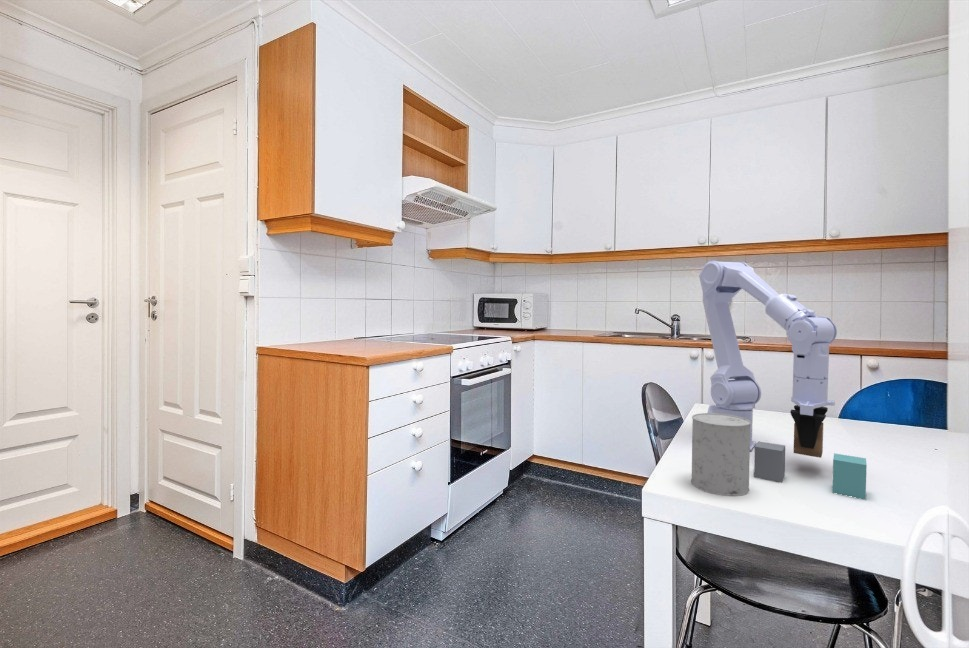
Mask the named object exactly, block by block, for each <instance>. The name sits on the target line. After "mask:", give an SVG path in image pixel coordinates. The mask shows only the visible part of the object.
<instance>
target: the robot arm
mask: <svg viewBox="0 0 969 648" xmlns="http://www.w3.org/2000/svg"><path fill="white" fill-rule="evenodd" d="M698 278H699V282H700V287H701V290H702V304H703V309H704V312H705V317H706V322H707V326H708V330H709V335H710V340H711V343H712V347H713V354H714V357H715V361H716V366H717V370H715V372H713V373H712V374H711V376H710V377H709V378H710V382H711V383H710V384H711V387H710V396H711V400H712V401H713V402H714V404H710V405H709V406H708V409H707V413H718V414H727V415H733V416H738V417H742V418H745V419H748V420H749V421H750V422H751V424H750V451H752V450H753V449H754V448H755V446H756V444H757V441H755V440H753V418H754V417H753V416H754V414H753V412H754V410H753V409H756V404H758V402H760V401H761V398H762V390H761V387H760V385H759V383H758V382H757V381H756V379H755V376H754V373H753V372H752V371H751V370H750V369H749V368H747V367H746V366H745V365H744V363H743V359H742V355H741V351H740V346H739V342H738V337H737V334H736V330H735V325H734V322H733V317H732V314H731V313H732V312H731V309H730V304H729V303H730V301H731V299H733V298H734V297H735V296H736V295H738V293H740V291H742V290H743V291H744V292H746V293H747V294H748V295H750V296H752V297H753V298H754V299H756V300H757V301H758V302H760V303H761V304H762V305H764V306H765V310H764V311H765V314H767V316H769V318H771V319H772V321H775V322H776V323H777V324H778V326H780V327H781V328H783V329H784V330H785V331H786V336H787V339H788V341H789V342H790V344H791V351H792V353H793V363H792V364H793V365H792V366H793V367H792V368H793V369H792V373H793V375H792V396H791V397H790V399H791V402H792V403H793V404H795V405H794V406H793V409H790V415H791V418H792V419H793V422H794V423H795V424H796V427H797V431H798V437H799V442H800V445H801V447H805V448H811V449H814V446H815V443H816V439H817V435H818V430H819V428H820V425H821V424H822V423H824V420H825V419H826V417H827V414H826V413H827V412H828V409H829V408H828V407H827V406H831V407H832V406H835V405H836V401H835V400H829V399H828V392H829V391H828V390H829V389H828V388H829V364H830V363H829V361H830V344H831V343H833V342H834V341H835V340H836V338H837V335H838V329H837V326H836V324H835V323H834V322H833V320H831V318H830V317H829V316H825V315H819V316H818V315H816V314H815V311H814V310H813V309H811V308H810V309H808V308H807V307H806V306H805V305H803V304H802V303H800V302H799V301H798V297H797V296H796V295H795V294H788V293H780V294H779V293H778V292H777V291H776V290H775V289H774V288H773V287H771V286H770V285H769V284H768V283H767V282H766V281H764V280H763V278H761V277H760V276H759V275H758V274H757V273H755V269H754V267H752V266H749V264H748V263H746V262H745V261H735V262H734V261H718V260H709V261H707V262H706V264H704V266H703V268H702V270H701V271H700V273H699V275H698Z"/></svg>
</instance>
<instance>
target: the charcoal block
mask: <svg viewBox="0 0 969 648" xmlns="http://www.w3.org/2000/svg"><path fill="white" fill-rule="evenodd" d="M753 468H754V469H753V473H754V474H753V477H754V478H756V479H761V480H765V481H769V482H775V483H779V484H782V483H783V481H784V479H785V476H786V475H785V474H786V445H784V444H777V443H772V442H767V441H766V442H765V441H757V442H756V444H755V446H754V467H753Z"/></svg>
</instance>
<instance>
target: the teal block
mask: <svg viewBox="0 0 969 648" xmlns="http://www.w3.org/2000/svg"><path fill="white" fill-rule="evenodd" d="M832 460H833V461H832V489H831V490H832V494H834V493H837V494H836V495H839V494H842V495H841V496H844V495H847V496H846V497H849V496H852V497H851V498H854V497H856V498H855V499H859V498H861V499H860V500H864V499H866V498H867V496H866V495H867V494H866V493H867V466H868V465H867V458H866V457H862V456H861V457H860V456H853V455H849V454H848V455H847V454H841V453H833V458H832Z"/></svg>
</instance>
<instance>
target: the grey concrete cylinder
mask: <svg viewBox="0 0 969 648" xmlns="http://www.w3.org/2000/svg"><path fill="white" fill-rule="evenodd" d="M691 419H692V423H691V424H692V429H691V431H692V432H691V435H692V436H691V479H690V482H692V483H691V484H692V486H694V487H695V488H696V489H698V490H701V491H703V492H707V493H709V494H712V495H713V494H714V495H719V496H726V497H728V496H729V497H738V496H739V497H740V496H746V495H748V494H749V492H750V457H751V456H750V424H751V422H750V421H749V420H748V419H745V418H742V417H738V416H733V415H727V414H718V413H708V412H703V413H702V412H701V413H695V414H692V415H691Z"/></svg>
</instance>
